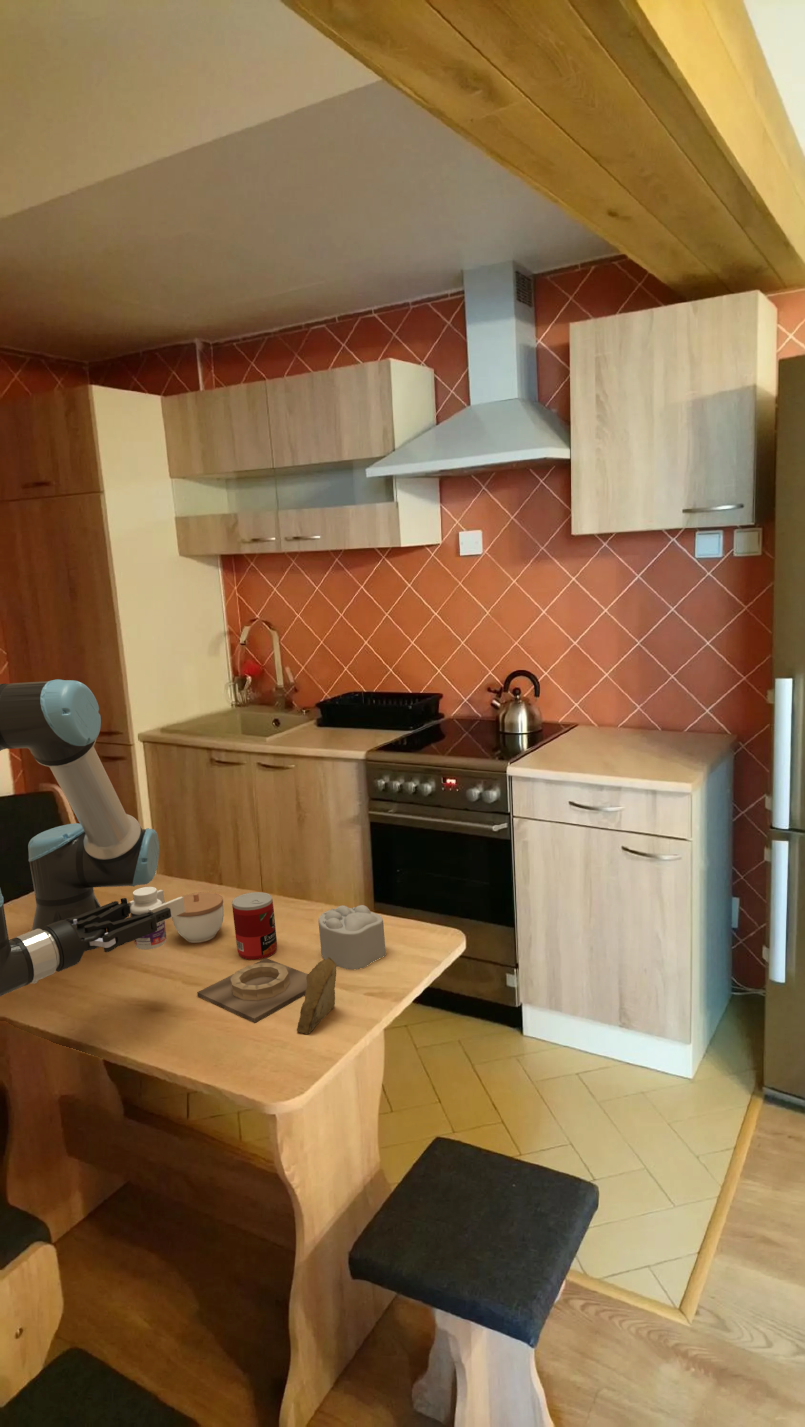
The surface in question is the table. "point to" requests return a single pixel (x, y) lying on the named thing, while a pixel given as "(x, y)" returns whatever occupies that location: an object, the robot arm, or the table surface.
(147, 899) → the pill bottle
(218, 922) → the lidded jar
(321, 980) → the rock
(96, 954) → the table surface
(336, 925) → the lumpy-topped squat cylinder
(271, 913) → the canned food
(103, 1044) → the table surface
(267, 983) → the ring plate
